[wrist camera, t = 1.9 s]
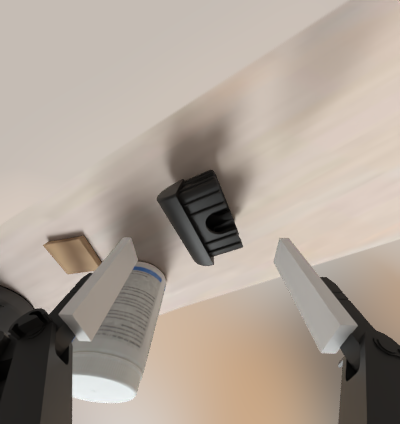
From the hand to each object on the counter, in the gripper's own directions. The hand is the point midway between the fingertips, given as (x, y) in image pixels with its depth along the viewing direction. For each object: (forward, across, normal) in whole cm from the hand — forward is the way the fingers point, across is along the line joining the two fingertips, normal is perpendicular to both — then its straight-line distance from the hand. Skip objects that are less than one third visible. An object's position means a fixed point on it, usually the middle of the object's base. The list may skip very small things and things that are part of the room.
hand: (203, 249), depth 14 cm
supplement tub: (+9, -12, -15) cm, 22 cm away
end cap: (+10, 0, 0) cm, 10 cm away
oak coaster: (+9, -24, -9) cm, 27 cm away
